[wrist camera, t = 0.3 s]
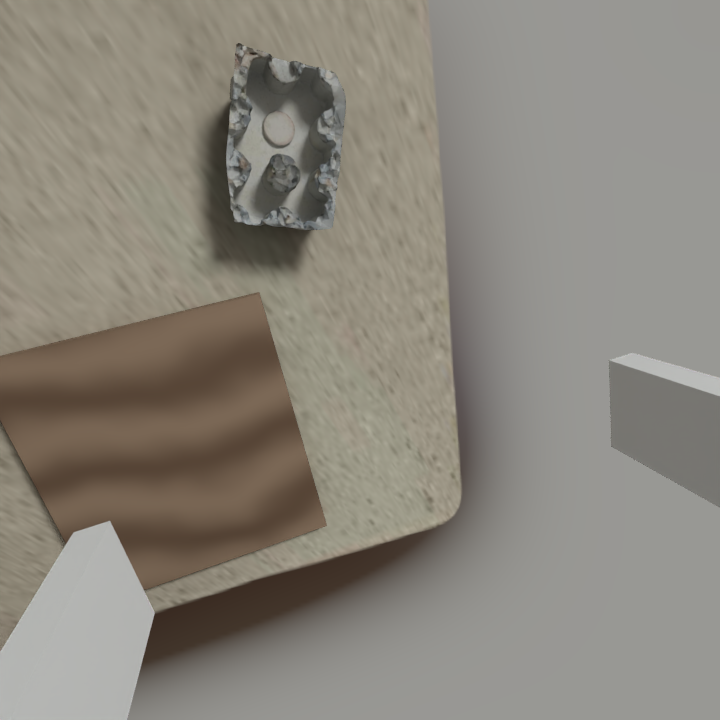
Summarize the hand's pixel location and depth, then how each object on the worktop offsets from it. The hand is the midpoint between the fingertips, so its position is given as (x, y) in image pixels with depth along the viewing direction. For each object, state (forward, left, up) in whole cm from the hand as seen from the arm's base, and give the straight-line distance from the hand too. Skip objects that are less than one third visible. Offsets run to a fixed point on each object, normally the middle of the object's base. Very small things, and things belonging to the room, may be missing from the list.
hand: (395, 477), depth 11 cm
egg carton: (-12, -1, -26) cm, 29 cm away
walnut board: (+8, -12, -26) cm, 30 cm away
